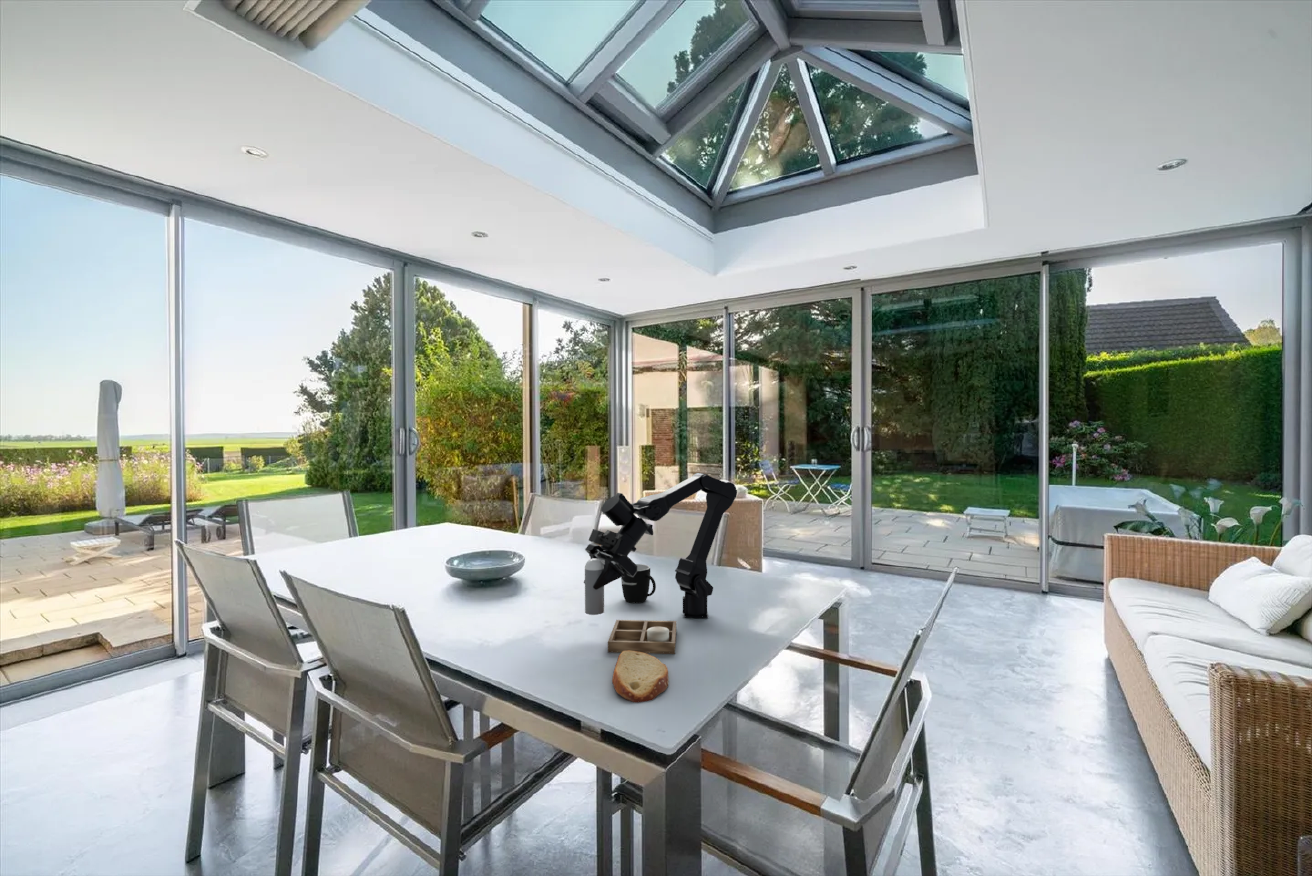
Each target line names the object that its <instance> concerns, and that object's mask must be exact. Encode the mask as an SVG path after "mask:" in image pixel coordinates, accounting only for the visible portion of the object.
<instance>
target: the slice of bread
mask: <svg viewBox="0 0 1312 876" xmlns="http://www.w3.org/2000/svg"><path fill="white" fill-rule="evenodd" d="M614 666H615V667H614V670H613V675H612V680H611V681H612V684H613V688H614V689H615V692H616V693H617V694H618V695H619V696H621V697H622V698H623V699H625V700H626V701H630V702H632V703H635V704H636V703H637V704H638V703H644V702H650V701H653V700H655V699H656V697H658V696H659V695H661V694H662V693H664V692H665V691H666V690H667V688H668V687H669V683H670V681H669V679H670V678H669V669H668V666H667V665H666V663H663V662H661V661H660V659H658V658H657V657H655V656H654V655H651V654H650V653H643V652H637V651H630V650H627V651H622V653H620V654H619V655H618V657H617V660H616V663H615V665H614Z"/></svg>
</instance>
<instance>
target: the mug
mask: <svg viewBox="0 0 1312 876" xmlns="http://www.w3.org/2000/svg"><path fill="white" fill-rule="evenodd" d="M635 564H636V565H637V573H636V574H635V575H634V577H631V576H628V575H627V574H626V572H627V571H625V572H624V573H623V574H624V575H625V576H624V577H621V579H620V580H621V589H622V595H623V598H624V601H625V602H626V603H630V604H641V603H645V602H646V601H647V599H648V597H651V596H653V594H654V593H655V592H656V588H657V583H656V580H655V578H654V577H653V576H651V567H650V566H649V565H648V564H642V563H640V564H639V563H635ZM650 582H651V583H652V590H651V592H649V589H650Z"/></svg>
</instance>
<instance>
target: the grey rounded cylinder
mask: <svg viewBox="0 0 1312 876" xmlns="http://www.w3.org/2000/svg"><path fill="white" fill-rule="evenodd" d="M603 570H604V565H603V563H602V561H601V560H599V559H597V558H593V559H591V558H590V559H588V560H587V561H586V563H585V564H584V580H585V584H584V613H585V614H586V615H591V616H597V615H601V614H604V613H605V586H603V587H601V588H599V589H597V590H595V589H594V588H593V586H594V584H595V582H596V581H597V579H598V577H599V576H600V574H601V573H602V571H603Z"/></svg>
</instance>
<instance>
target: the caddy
mask: <svg viewBox="0 0 1312 876" xmlns="http://www.w3.org/2000/svg"><path fill="white" fill-rule="evenodd" d="M676 643H677V620H649V619H648V620H646V619H645V620H643V619H642V620H641V619H616V620H615V623H614V625H613V627H612V631H611V633H610V636H609V638H608V640H607V653H613V654H615V653H617V654H618V653H620V654H621V653H622V651H627V650H630V651H637V652H643V653H646V654H655V655H657V654H660V655H661V654H662V655H663V654H664V655H665V654H666V655H667V654H668V655H675V654H676Z"/></svg>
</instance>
